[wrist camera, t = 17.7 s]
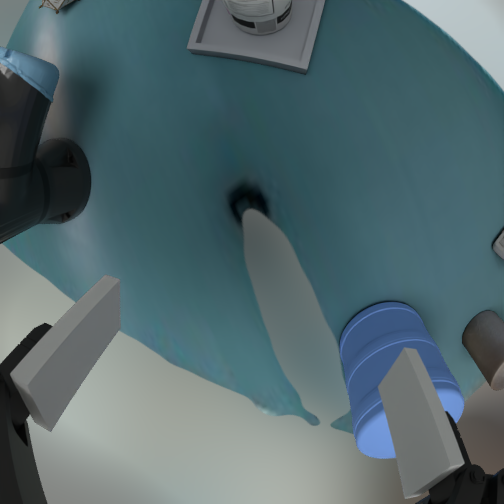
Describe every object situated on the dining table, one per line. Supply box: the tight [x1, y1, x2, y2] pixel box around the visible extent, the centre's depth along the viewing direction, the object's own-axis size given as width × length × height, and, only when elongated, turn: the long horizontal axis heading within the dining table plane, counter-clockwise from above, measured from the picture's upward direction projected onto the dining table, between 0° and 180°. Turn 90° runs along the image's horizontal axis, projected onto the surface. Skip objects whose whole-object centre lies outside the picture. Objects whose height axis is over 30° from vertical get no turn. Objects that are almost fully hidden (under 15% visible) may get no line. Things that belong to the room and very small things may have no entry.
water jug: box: [340, 302, 464, 459], centre depth 34 cm, size 16×16×28 cm
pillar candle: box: [462, 311, 504, 391], centre depth 38 cm, size 10×10×15 cm
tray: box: [187, 0, 325, 75], centre depth 30 cm, size 16×16×3 cm
